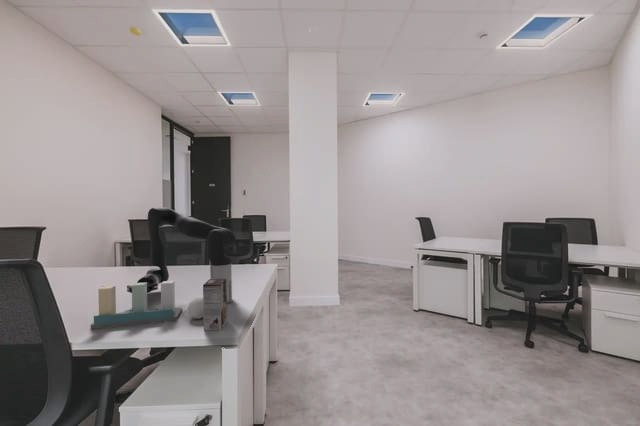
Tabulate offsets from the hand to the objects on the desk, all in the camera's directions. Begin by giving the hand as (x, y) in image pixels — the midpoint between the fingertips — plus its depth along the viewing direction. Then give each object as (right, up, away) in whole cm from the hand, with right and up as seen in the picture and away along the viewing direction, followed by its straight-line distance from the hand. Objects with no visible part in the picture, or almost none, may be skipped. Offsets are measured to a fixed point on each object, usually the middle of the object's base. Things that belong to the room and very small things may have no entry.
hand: (136, 292), depth 127 cm
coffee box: (+39, -8, -17) cm, 43 cm away
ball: (+30, -8, -9) cm, 32 cm away
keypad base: (+7, -8, -9) cm, 14 cm away
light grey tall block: (+17, -6, -7) cm, 19 cm away
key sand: (-2, -6, -14) cm, 16 cm away
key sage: (+7, -6, -9) cm, 13 cm away
